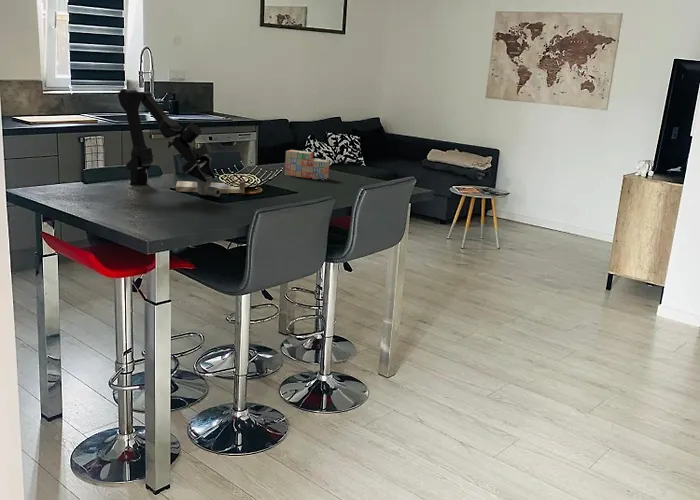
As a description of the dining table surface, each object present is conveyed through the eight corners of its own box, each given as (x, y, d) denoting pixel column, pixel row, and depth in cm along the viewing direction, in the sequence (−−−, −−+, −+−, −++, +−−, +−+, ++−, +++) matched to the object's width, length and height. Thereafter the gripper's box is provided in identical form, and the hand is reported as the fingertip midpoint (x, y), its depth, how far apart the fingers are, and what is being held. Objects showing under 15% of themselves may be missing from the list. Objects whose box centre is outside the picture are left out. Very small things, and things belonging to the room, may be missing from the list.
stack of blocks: (328, 179, 345) (330, 154, 342) (323, 180, 339) (325, 155, 336) (289, 173, 352) (291, 149, 348) (284, 175, 346) (285, 150, 343)
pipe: (212, 199, 277) (213, 179, 275) (191, 193, 284) (191, 174, 282) (224, 197, 282) (224, 178, 279) (202, 192, 289) (203, 173, 287)
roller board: (175, 191, 286) (176, 179, 284) (177, 185, 297) (177, 174, 296) (244, 194, 292) (244, 182, 290) (243, 188, 303) (243, 177, 301)
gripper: (189, 139, 269) (216, 170, 270) (207, 134, 286) (232, 164, 288) (170, 157, 272) (196, 188, 273) (189, 151, 290) (213, 180, 291)
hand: (210, 179), depth 281 cm, fingers open, 9 cm apart
